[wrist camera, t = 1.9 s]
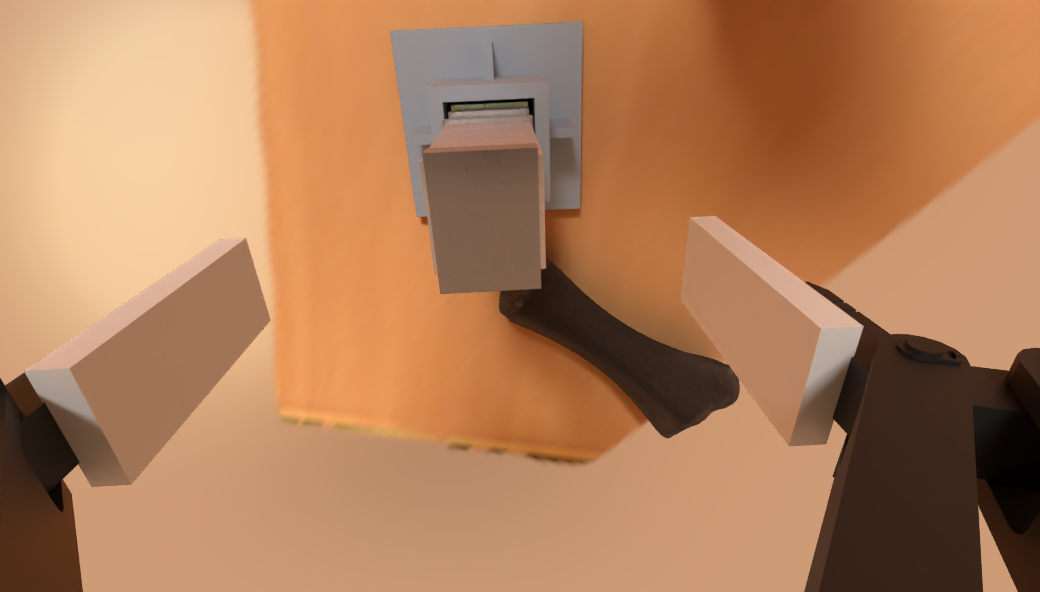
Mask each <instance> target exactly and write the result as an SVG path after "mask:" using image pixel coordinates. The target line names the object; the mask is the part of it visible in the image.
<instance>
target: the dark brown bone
mask: <svg viewBox="0 0 1040 592" xmlns="http://www.w3.org/2000/svg"><path fill="white" fill-rule="evenodd" d="M499 310H500V312H501V313H502V314H503V315H505V316H506V317H507V318H508V319H509V320H510V321H511V322H513V323H515V324H518V325H520V326H522V327H525V328H527V329H530V330H532V331H534V332H536V333H538V334H541V335H543V336H545V337H547V338H549V339H551V340H553V341H555V342H557V343H559V344H561V345H563V346H564V347H566V348H568V349H570V350H572V351H573V352H575V353H577V354H578V355H580V356H581V357H583V358H584V359H586V360H587V361H589V362H590V363H592V364H593V365H594V366H596V367H597V368H598V369H600V370H601V371H602V372H604V373H605V374H606V375H607V376H608V377H610V378H611V379H612V380H613V381H614V382H615V383H616V384H617V385H618V386H619V387H620V388H621V389H622V390H623V391H624V392H625V393H626V394H627V395H628V396H629V397H630V398H631V399H632V400H633V402H634V403H635V404H636V405H637V406H638V408H639V409H640V410H641V411H642V413H643V414H644V415H645V416H646V417H647V419H648V420H649V421H650V422H651V424H652V425H653V426H654V427H655V429H656V430H657V431H658V432H659V433H660V434H661V435H662V436H664V437H665V438H670V437H672V436H673V435H676V434H678V433H679V432H681V431H683V430H685V429H687V428H689V427H691V426H694V425H697V424H699V423H700V422H702V421H703V420H705V419H706V418H707V417H708V416H709V415H710V414H711V413H712V412H713V411H715V410H719V409H723V408H726V407H728V406H730V405H732V404H733V403H734V402H735V401H736V400H737V398H738V395H739V387H740V386H739V379H738V377H737V376H736V374H735V373H734V372H733V370H732V369H731V368H730V366H729V365H727V364H724V363H721V362H719V361H717V360H714V359H711V358H708V357H704V356H700V355H695V354H690V353H686V352H683V351H680V350H677V349H675V348H671V347H669V346H667V345H665V344H662V343H659V342H657V341H655V340H653V339H651V338H649V337H647V336H645V335H643V334H641V333H639V332H637V331H635V330H634V329H632V328H630V327H629V326H627V325H626V324H624V323H622V322H621V321H619V320H618V319H616V318H615V317H613V316H612V315H611V314H609V313H608V312H607V311H605V310H604V309H602V308H601V307H600V306H599V305H597V304H596V303H595V302H594V301H593V300H592V299H590V298H589V297H588V296H587V295H586V294H585V293H584V292H582V291H581V290H580V289H579V288H578V287H577V286H576V285H575V284H574V283H573V282H572V281H571V280H570V279H569V278H568V277H567V276H566V275H565V274H564V273H563V272H562V271H561V270H559V269H558V268H557V267H556V266H555V265H554V264H552V263H551V262H550V261H549V260H548V259H547V258H546V268H545V269H541V289H524V290H505V291H501V293H500V301H499Z"/></svg>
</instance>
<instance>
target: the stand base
mask: <svg viewBox="0 0 1040 592" xmlns="http://www.w3.org/2000/svg"><path fill="white" fill-rule="evenodd" d="M390 34H391V41H392V48H393V55H394V62H395V69H396V75H397V82H398V89H399V96H400V103H401V110H402V117H403V124H404V131H405V138H406V145H407V152H408V159H409V166H410V173H411V180H412V187H413V194H414V201H415V208H416V215H417V217H426V216H427V212H426V204H425V197H424V189H423V182H422V174H421V167H420V161H421V159H422V158H423V156H422V153H423V152H424V150H425V149H426V148H430V146H431V145H432V143H433V142H434V140H435V139H436V137H437V136H438V134H439V133H440V132H441V130H442V129H443V126H442V120H443V119H449V116H448V112H449V111H451V105H452V104H453V103H457V102H461V101H481V100H501V99H522V98H524V99H527V101H528V108H529V115H532V116H533V130H534V133H535V135H536V138H537V140H538V143H539V145H540V147H541V150H542V152H543V155H544V196H545V210H560V209H579V208H580V187H581V115H582V43H583V22H568V23H547V24H525V25H504V26H483V27H461V28H440V29H419V30H397V31H390Z"/></svg>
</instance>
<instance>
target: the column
mask: <svg viewBox="0 0 1040 592" xmlns="http://www.w3.org/2000/svg"><path fill="white" fill-rule="evenodd" d="M448 116H449V119H443V120H442V126H443V129H442V130H441V132H440V133H439V134H438V136H437V137H436V139H435V140H434V142H433V143H432V145H431V146H430V148H426V149H425V150H424V152H423V153H422V156H423V158H422V159H421V161H420V167H421V174H422V182H423V189H424V197H425V204H426V212H427V219H428V227H429V234H430V242H431V249H432V257H433V264H434V272H435V274H438V279H439V286H440V294H451V293H469V292H487V291H505V290H524V289H541V269H545V268H546V247H545V196H544V155H543V152H542V150H541V147H540V145H539V143H538V140H537V138H536V135H535V133H534V130H533V116H532V115H529V108H528V101H527V99H524V98H522V99H501V100H481V101H461V102H457V103H453V104H452V105H451V111H449V112H448Z"/></svg>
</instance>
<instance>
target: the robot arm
mask: <svg viewBox="0 0 1040 592" xmlns="http://www.w3.org/2000/svg"><path fill="white" fill-rule="evenodd" d="M680 300H681V302H682V303H683V304H684V306H685V307H686V308H687V310H688V311H689V312H690V314H691V315H692V316H693V318H694V319H695V321H696V322H697V323H698V325H699V326H700V327H701V329H702V330H703V331H704V333H705V334H706V335H707V337H708V338H709V339H710V341H711V342H712V343H713V345H714V346H715V347H716V349H717V350H718V351H719V353H720V354H721V355H722V357H723V358H724V360H725V361H726V362H727V364H728V365H729V366H730V368H731V369H732V370H733V372H734V373H735V374H736V376H737V377H738V378H739V380H740V381H741V382H742V384H743V385H744V386H745V388H746V389H747V390H748V392H749V393H750V394H751V396H752V397H753V399H754V400H755V401H756V402H757V404H758V405H759V407H760V408H761V409H762V410H763V412H764V413H765V415H766V416H767V417H768V419H769V420H770V421H771V423H772V424H773V425H774V427H775V428H776V429H777V431H778V432H779V433H780V435H781V436H782V437H783V439H784V440H785V442H786V443H787V444H788V445H789V446H800V445H801V446H803V445H819V444H826V443H827V440H828V437H829V434H830V431H831V427H832V424H833V421H834V420H835V421H836V422H837V423H838V424H839V425H840V426H841V428H842V429H843V430H844V431H845V432H846V433H847V436H846V439H845V442H844V445H843V448H842V450H841V453H840V457H839V459H838V462H837V465H836V468H835V471H834V474H833V477H834V481H833V486H832V489H831V493H830V496H829V500H828V504H827V508H826V512H825V515H824V519H823V523H822V527H821V531H820V535H819V538H818V542H817V546H816V549H815V553H814V557H813V561H812V565H811V568H810V572H809V576H808V580H807V584H806V587H805V591H804V592H983V583H982V565H981V548H980V530H979V513H978V506H979V508H980V510H981V512H982V514H983V516H984V519H985V521H986V523H987V525H988V527H989V530H990V532H991V534H992V536H993V538H994V541H995V543H996V545H997V547H998V549H999V551H1000V554H1001V556H1002V558H1003V560H1004V562H1005V564H1006V567H1007V569H1008V571H1009V573H1010V575H1011V578H1012V580H1013V582H1014V584H1015V586H1016V589H1017V591H1018V592H1040V348H1030V349H1023V350H1022V351H1021V352H1019V353H1018V354H1017V356H1016V358H1015V360H1014V362H1013V364H1012V366H1011V368H1010V370H1009V371H1007V370H998V369H990V368H981V367H972V366H970V364H969V362H968V360H967V358H966V357H965V356H964V355H962V354H961V353H960V352H959V351H957V350H956V349H954V348H952V347H950V346H947V345H945V344H943V343H941V342H938V341H935V340H932V339H928V338H925V337H920V336H914V335H908V334H892V335H891V334H889V333H888V332H886V331H885V330H884V329H882V328H881V327H879V326H878V325H877V324H875V323H874V322H872V321H871V320H870V319H868V318H867V317H865V316H864V315H863V314H861V313H860V312H856V309H854V308H853V307H851V306H850V305H849V304H847V303H844V301H843V300H841V299H840V298H839V297H837V296H836V295H835V294H833V293H832V292H830V291H829V290H827V289H824V288H822V287H819V286H817V285H815V284H812V283H810V282H803V281H802V280H801V279H799V278H798V277H797V276H795V275H794V274H793V273H791V272H790V271H789V270H787V269H786V268H785V267H783V266H782V265H781V264H779V263H778V262H777V261H775V260H774V259H772V258H771V257H770V256H768V255H767V254H766V253H764V252H763V251H762V250H760V249H759V248H758V247H756V246H755V245H754V244H752V243H751V242H750V241H748V240H747V239H746V238H744V237H743V236H742V235H740V234H739V233H738V232H736V231H735V230H734V229H732V228H731V227H729V226H728V225H727V224H725V223H724V222H723V221H721V220H720V219H719V218H717V217H716V216H701V217H690V219H689V228H688V236H687V244H686V252H685V260H684V268H683V277H682V285H681V293H680ZM269 322H270V317H269V313H268V310H267V307H266V303H265V300H264V297H263V293H262V290H261V287H260V283H259V280H258V277H257V273H256V270H255V267H254V263H253V260H252V257H251V254H250V250H249V247H248V243H247V240H246V238H239V239H219V240H218V241H216V242H215V243H213V244H212V245H210V246H209V247H207V248H206V249H205V250H203V251H202V252H200V253H199V254H197V255H196V256H194V257H193V258H191V259H190V260H188V261H187V262H185V263H184V264H182V265H181V266H179V267H178V268H176V269H175V270H173V271H172V272H170V273H169V274H167V275H166V276H164V277H163V278H161V279H160V280H158V281H157V282H155V283H154V284H152V285H151V286H149V287H148V288H146V289H145V290H143V291H142V292H140V293H139V294H137V295H136V296H134V297H133V298H131V299H130V300H128V301H127V302H126V303H124V304H123V305H121V306H120V307H118V308H117V309H115V310H114V311H112V312H111V313H109V314H108V315H106V316H105V317H103V318H102V319H100V320H99V321H97V322H96V323H94V324H93V325H91V326H90V327H88V328H87V329H85V330H84V331H82V332H81V333H79V334H78V335H76V336H75V337H73V338H72V339H70V340H69V341H67V342H66V343H64V344H63V345H61V346H60V347H58V348H57V349H55V350H54V351H53V352H51V353H50V354H48V355H46V356H45V357H44V358H42V359H41V360H39V361H38V362H36V363H35V364H33V365H32V366H30V367H29V368H27V369H26V370H24V373H23V374H21V375H20V376H19V377H17V378H16V379H14V380H13V381H11V382H10V383H8V384H7V385H4V384H3V382H2V380H1V379H0V592H83V590H82V581H81V572H80V564H79V554H78V545H77V537H76V529H75V519H74V512H73V511H74V510H73V502H72V494H71V492H70V490H69V489H68V488H67V486H66V484H65V482H64V481H63V478H64V477H65V476H66V475H67V474H68V473H69V472H70V471H71V470H73V468H74V467H76V466H77V465H78V464H79V466H80V468H81V469H82V471H83V473H84V475H85V476H86V478H87V480H88V481H89V483H90V485H91V486H92V487H99V486H116V485H131V484H132V483H133V482H134V481H135V480H136V478H137V477H138V476H139V475H140V473H141V472H142V471H143V470H144V469H145V468H146V467H147V465H148V464H149V463H150V462H151V461H152V460H153V458H154V457H155V456H156V455H157V454H158V452H159V451H160V450H161V449H162V448H163V447H164V445H165V444H166V443H167V442H168V441H169V439H170V438H171V437H172V436H173V435H174V434H175V432H176V431H177V430H178V429H179V428H180V427H181V425H182V424H183V423H184V422H185V421H186V419H187V418H188V417H189V416H190V415H191V413H192V412H193V411H194V410H195V409H196V408H197V407H198V405H199V404H200V403H201V402H202V401H203V399H204V398H205V397H206V396H207V395H208V394H209V392H210V391H211V390H212V389H213V388H214V386H215V385H216V384H217V383H218V382H219V381H220V379H221V378H222V377H223V376H224V375H225V373H226V372H227V371H228V370H229V369H230V367H231V366H232V365H233V364H234V363H235V362H236V360H237V359H238V358H239V357H240V356H241V355H242V353H243V352H244V351H245V350H246V349H247V348H248V346H249V345H250V344H251V343H252V342H253V340H254V339H255V338H256V337H257V335H259V333H260V332H261V331H262V330H263V329H264V327H265V326H266V325H267V324H268V323H269Z"/></svg>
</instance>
